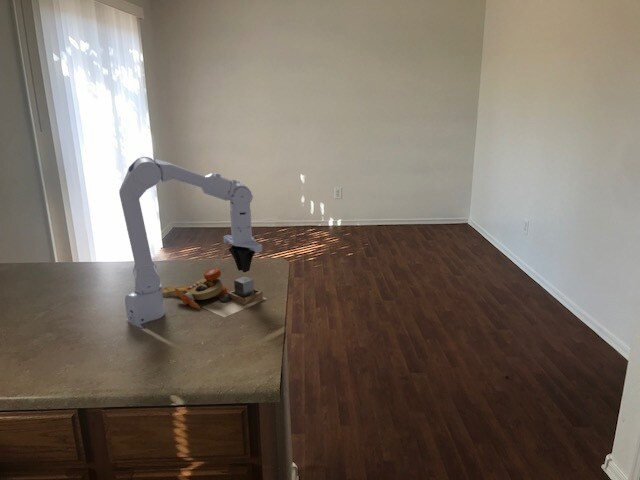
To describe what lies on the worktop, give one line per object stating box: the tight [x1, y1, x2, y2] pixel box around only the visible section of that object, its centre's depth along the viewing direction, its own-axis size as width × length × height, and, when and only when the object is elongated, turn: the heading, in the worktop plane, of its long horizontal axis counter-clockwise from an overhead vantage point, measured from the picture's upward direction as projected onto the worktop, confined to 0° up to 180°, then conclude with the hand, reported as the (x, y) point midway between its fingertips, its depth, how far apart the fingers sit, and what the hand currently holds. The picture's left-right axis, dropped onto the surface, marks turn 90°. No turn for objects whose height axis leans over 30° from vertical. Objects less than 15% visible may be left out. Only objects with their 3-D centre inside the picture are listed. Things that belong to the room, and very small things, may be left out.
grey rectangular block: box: [233, 276, 255, 298], centre depth 150 cm, size 4×4×6 cm
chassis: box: [201, 288, 268, 318], centre depth 148 cm, size 16×10×3 cm, turn 139°
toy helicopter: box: [162, 267, 228, 310], centre depth 151 cm, size 8×21×14 cm
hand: (243, 270), depth 148 cm, fingers closed
